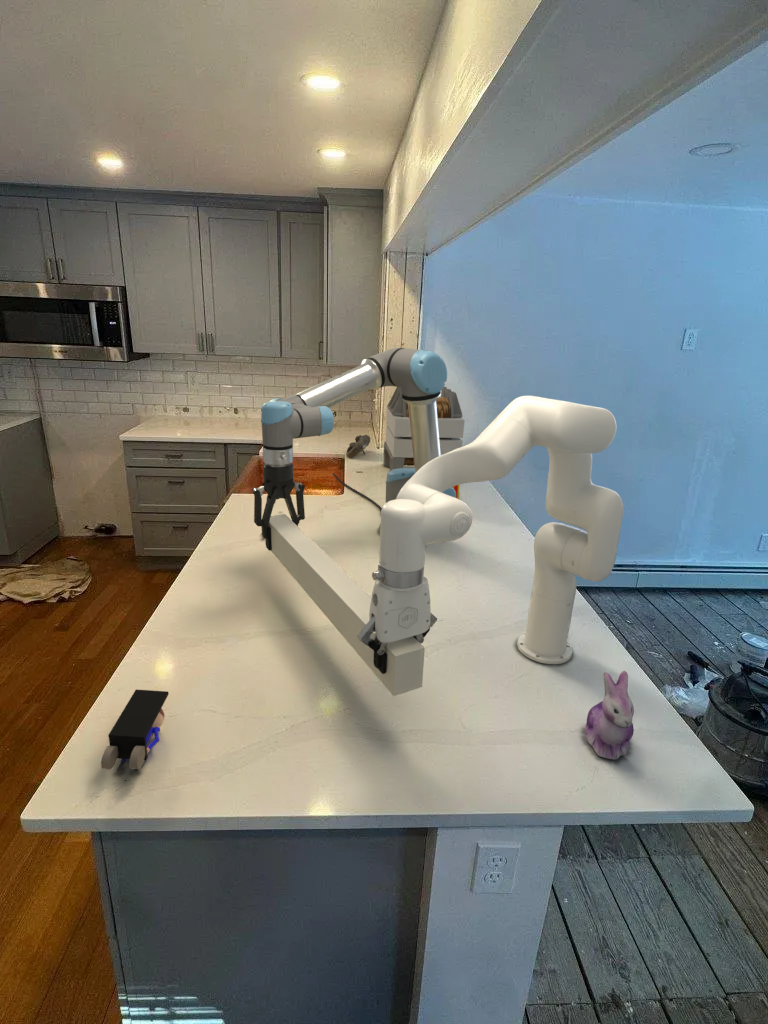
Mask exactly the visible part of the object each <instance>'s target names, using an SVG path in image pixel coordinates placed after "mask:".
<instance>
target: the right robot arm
mask: <svg viewBox="0 0 768 1024" xmlns="http://www.w3.org/2000/svg"><path fill="white" fill-rule="evenodd" d="M616 434H617V420H616V417H615V416H614V414H613V413H612V412H611V411H610V410H609V409H607V408H603V407H598V406H594V405H588V404H582V403H578V402H577V403H576V402H572V401H566V400H562V399H561V400H560V399H553V398H548V397H543V396H542V397H541V396H536V395H521V396H518V397H516V398H514V399H513V400H512V401H511V402H510V403H508V405H507V406H506V407H504V409H503V410H502V411H500V413H499V414H498V415H497V416H496V417H495V418H494V419H493V420H492V421H491V423H489V424H488V425H487V426H486V427H485V429H484V430H482V431H481V433H480V434H479V435H478V436H477V437H476V438H475V439H474V440H473V441H472V442H470V443H468V444H466V445H462V447H460V448H457V449H455V450H453V451H450V452H448V453H446V454H443V455H441V456H439V457H437V458H435V459H433V460H431V461H429V462H428V463H426V464H425V465H424V466H422V467H421V468H420V469H419V470H418V471H417V472H416V473H415V474H414V475H413V476H412V477H411V478H410V479H409V480H408V481H407V482H406V483H405V485H404V486H403V487H402V489H401V490H400V492H399V493H398V495H397V498H396V500H391V501H388V502H387V503H386V502H385V503H384V504H383V505H382V506H381V508H382V510H380V522H379V526H380V532H379V552H378V554H379V555H378V556H379V558H378V564H377V570H376V571H373V572H372V573H371V578H372V580H373V581H374V583H373V589H372V591H371V603H370V612H369V622H368V623H367V624H366V625H365V627H364V628H363V629H362V630H361V632H360V633H359V634H358V636H357V637H358V639H359V640H360V641H361V642H362V643H364V644H365V645H367V646H369V647H370V648H371V649H372V650H374V660H373V663H374V666H375V667H376V668H378V670H379V671H380V672H381V673H382V674H385V673H386V671H387V654H386V653H385V649H386V647H387V644H388V643H390V642H394V641H397V640H401V639H405V638H408V637H412V636H413V637H414V638H415V639H416V640H417V641H418V642H419V643H421V644H423V643H424V641H425V637H426V636H427V634H428V633H429V632H430V630H431V628H432V627H433V626H434V625H435V624H436V623H437V621H438V618H437V617H436V616H435V615H434V614H433V613H432V612H431V611H432V609H431V608H432V607H431V593H430V585H429V580H428V579H427V577H426V576H425V562H426V561H425V559H426V546H427V545H429V544H440V543H441V544H442V543H443V544H444V543H451V542H454V541H457V540H460V539H461V538H463V537H464V536H465V535H466V534H467V533H468V532H469V530H470V528H471V527H472V524H473V512H472V510H471V508H470V507H469V506H468V504H467V503H466V502H464V501H463V500H461V499H457V498H454V497H452V496H449V495H446V494H444V493H442V492H443V491H445V490H447V489H449V488H451V487H453V486H456V485H459V484H460V485H463V484H469V483H480V482H481V483H482V482H490V481H496V480H501V479H503V478H505V477H507V476H508V475H509V474H510V472H512V470H513V469H514V468H515V467H516V466H517V465H518V464H519V462H520V461H521V460H522V459H523V458H524V457H525V456H526V455H527V454H528V453H529V451H531V449H532V448H533V447H536V446H539V447H542V448H546V450H547V453H548V458H549V461H548V463H549V464H548V465H549V466H548V476H547V485H546V494H545V511H546V513H547V514H548V516H549V517H551V518H553V519H555V520H557V521H560V522H556V521H555V522H554V521H552V522H547V523H544V524H543V525H542V526H540V527H539V528H538V530H537V531H536V534H535V536H534V540H533V555H534V572H533V580H532V587H531V594H530V601H529V608H528V613H527V621H526V627H525V628H526V629H525V632H524V633H521V635H519V637H518V639H517V643H516V646H517V649H518V650H519V651H520V653H521V654H522V655H523V656H525V657H526V658H528V659H530V660H532V661H534V662H537V663H541V664H546V665H559V664H564V663H566V662H568V661H570V660H571V658H572V656H573V648H572V646H571V644H570V643H569V642H568V639H569V632H570V628H571V627H570V626H571V622H572V616H573V611H574V610H573V609H574V605H575V599H576V594H577V579H576V576H577V577H579V578H582V579H584V580H587V581H590V582H595V583H596V582H602V581H605V580H606V579H607V578H608V577H609V576H610V575H611V574H612V571H613V569H614V567H615V564H616V560H617V554H618V548H619V543H620V537H621V530H622V524H623V517H624V503H623V500H622V497H621V496H620V495H619V493H618V492H616V491H615V490H613V489H611V488H609V487H606V486H605V487H604V486H601V485H598V484H595V483H593V482H592V467H593V454H599V453H601V452H603V451H605V450H606V449H607V448H609V447H610V445H612V443H613V441H614V439H615V436H616ZM460 485H459V486H460ZM373 632H376V633H375V635H374V638H373V639H372V638H370V635H371V634H372V633H373ZM379 642H380V644H379Z"/></svg>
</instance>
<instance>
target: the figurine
mask: <svg viewBox="0 0 768 1024" xmlns="http://www.w3.org/2000/svg"><path fill="white" fill-rule="evenodd" d="M603 684H604V685H603V688H604V689H603V690H604V698H603V700H602V701H599V702H598V703H597V704H595V705H593V706H592V707H591V708H590V709H589V710H588V713H587V715H586V716H587V717H586V723H585V728H584V732H585V738H586V741H587V743H588V744H589V745H590V746H591V747H592V749H593V750H594V752H595V754H596V755H597V756H599V757H600V758H601V757H602V758H605V759H609V760H618V759H620V756H625V755H626V754H627V752H628V750H629V745H630V741H631V740H632V738H633V736H634V731H635V729H634V723H633V717H634V715H635V707H634V703H633V700H632V698H631V696H630V694H629V691H628V689H629V674H628V672H627V671H626V670H622V671H621V672H620V673H619V676H618V678H617V681H616V682H615V680H614V679H613V677H612V676H611V675H610V673H608V672H607V671H604V673H603Z"/></svg>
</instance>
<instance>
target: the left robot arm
mask: <svg viewBox="0 0 768 1024" xmlns="http://www.w3.org/2000/svg"><path fill="white" fill-rule="evenodd" d="M447 381H448V367H447V364H446V362H445V360H444V359H443V358H442V357H441V355H440V354H438V353H436V352H434V351H430V350H428V349H415V348H407V347H406V348H405V347H393V348H390V349H386V350H384V351H381V352H379V353H377V354H374V355H371V356H369V357H367V358H365V359H363V360H361V362H360V365H358V366H355V367H353V368H351V369H348V370H347V371H344V372H342V373H340V374H338V375H335V376H333V377H331V378H328V379H326V380H324V381H322V382H320V383H318V384H316V385H313V386H311V387H309V388H307V389H304V390H303V391H300V392H298V393H296V394H293V395H291V396H288V397H286V398H283V397H275V398H273V399H270V401H266V402H264V403H263V404H262V405H261V416H260V417H261V419H260V423H261V438H262V462H263V463H264V464H263V467H262V468H263V481H262V482H263V483H262V485H261V486H259V487H253V488H251V491H252V493H253V496H254V497H253V499H254V500H253V501H254V502H253V503H254V504H253V522H254V524H255V525H256V526H257V527H261V534H262V535H261V537H262V539H263V538H264V539H263V540H265V538H266V544H265V548H266V549H267V550H268V551H270V552H271V550H272V541H271V527H270V526H269V525H268V524H269V521H270V517H271V516H272V513H273V509H274V507H275V504H276V501H277V500H279V499H284V502H285V505H286V508H287V510H288V514H289V516H290V519H291V520H292V521H293V522H294V523H295V524H296V525H297V526H298V527H299V524H300V522H301V521H303V520H305V519H306V513H305V499H304V492H305V488H306V486H305V484H303V483H302V482H300V481H299V482H296V481H295V480H294V464H293V462H294V439H302V438H311V437H322V436H324V435H328V434H330V433H332V431H333V430H334V426H335V416H334V413H333V410H331V408H333V407H335V406H337V405H339V404H342V403H343V402H345V401H348V400H350V399H352V398H354V397H356V396H359V395H360V394H363V393H364V392H367V391H369V390H373V391H377V390H379V389H381V388H385V387H396V388H397V387H400V388H401V393H402V399H403V400H404V401H405V402H407V403H408V410H409V420H410V429H411V438H412V448H413V457H414V466H413V467H404V468H399V469H393V470H391V471H390V470H388V472H387V475H386V480H385V503H387V502H388V501H391V500H396V498H397V495H398V493H399V492H400V490H401V489H402V487H403V486H404V485H405V483H406V482H407V481H408V480H409V479H410V478H411V477H412V476H413V475H414V474H415V473H416V472H417V471H418V470H419V469H420V468H421V467H422V466H424V465H425V464H426V463H428V462H429V461H431V460H433V459H435V458H437V457H439V456H441V454H440V442H439V430H438V418H437V406H436V400H437V398H438V397H441V392H442V389H443V388H444V387H446V382H447ZM332 475H333V476H334V478H335V479H336V480H337V481H338V482H339V483H340V484H342V485H343V486H345V487H346V488H347V489H349V490H351V491H352V492H354V493H356V494H358V495H359V496H361V497H363V498H364V499H366V500H367V501H369V502H370V503H372V504H374V505H375V506H376V507H377V508H378V509H379V510H380V511H381V510H382V506H381V505H379V504H378V503H377V502H376V501H374V500H373V499H371V498H370V497H368V496H367V495H365V494H364V493H362V492H360V491H358V490H357V489H355V488H353V487H351V486H350V485H348V484H347V483H345V482H344V481H342V480H341V478H339V477H338V476H337V475H336V473H335V472H333V473H332ZM293 490H295V501H296V509H295V506H294V502H293V499H292V496H291V493H292V491H293ZM264 492H265V493H266V495H267V496H266V502H265V506H264V510H262V509H263V507H262V505H263V498H262V496H264ZM442 493H444V494H446V495H449V496H452V497H454V498H456V492H455V490H454V489H453V488H452V487H451V488H449V489H447V490H445V491H443V492H442ZM262 511H263V512H262ZM378 533H380V525H379V526H378Z"/></svg>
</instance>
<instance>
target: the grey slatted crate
mask: <svg viewBox="0 0 768 1024" xmlns="http://www.w3.org/2000/svg"><path fill="white" fill-rule="evenodd" d="M440 393H441V395H440V396H439V397H438V398H437V400H436V406H437V418H438V430H439V442H440V454H441V455H443V454H446V453H448V452H450V451H453V450H455V449H457V448H460V447H463V442H464V441H463V440H462V439H463V438H464V431H465V430H464V429H465V419H464V418H463V411H462V408H461V405H460V402H459V398H458V395H457V392H455V391H453V390H452V389H451V388H447V386H444V388H443V389H442V390H441V391H440ZM385 414H386V415H385V423H386V428H385V438H384V442H383V466H384V467H388V468H389V471H391V470H393V469H399V468H405V466H406V467H407V466H411V467H412V466H413V467H415V466H414V457H413V448H412V438H411V429H410V420H409V410H408V403H407V402H405V401H404V400H403V399H402V393H401V388H400V387H396V388H395V390H394V392H393V394H392V395H391V398H390V400H389V402H388V404H387V405H386V413H385Z"/></svg>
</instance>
